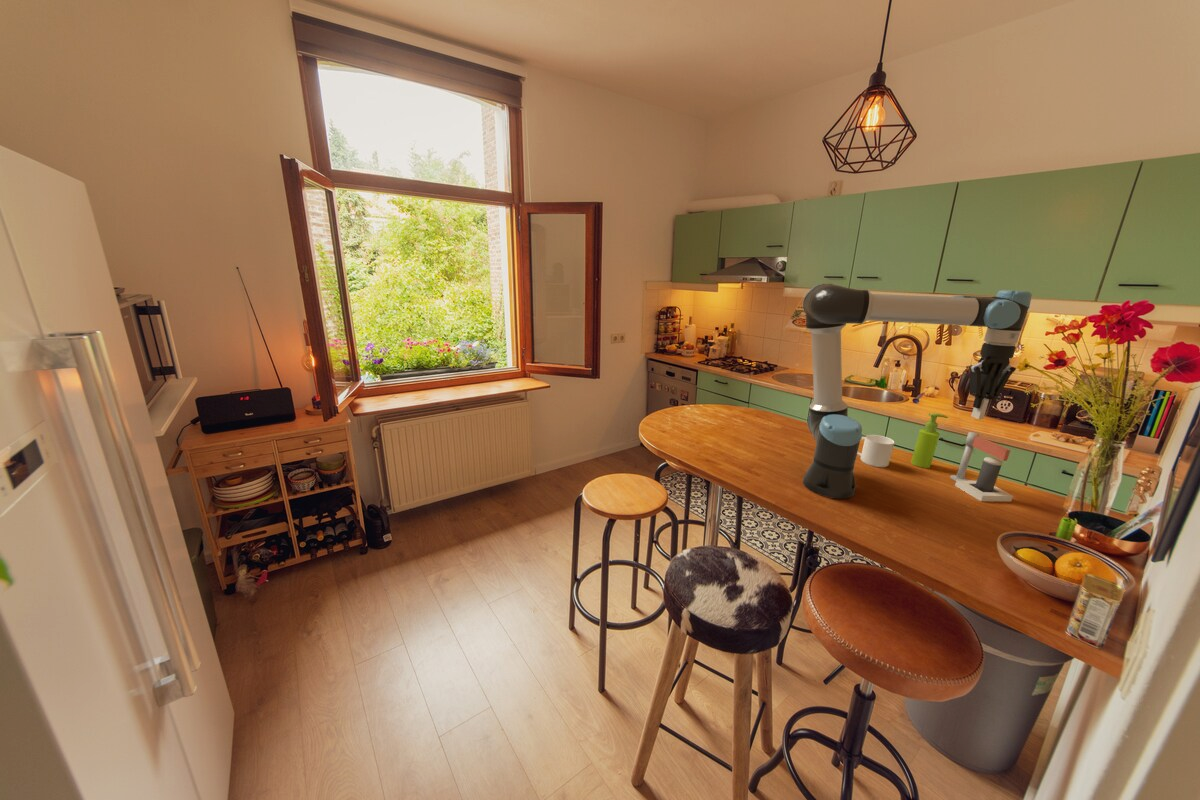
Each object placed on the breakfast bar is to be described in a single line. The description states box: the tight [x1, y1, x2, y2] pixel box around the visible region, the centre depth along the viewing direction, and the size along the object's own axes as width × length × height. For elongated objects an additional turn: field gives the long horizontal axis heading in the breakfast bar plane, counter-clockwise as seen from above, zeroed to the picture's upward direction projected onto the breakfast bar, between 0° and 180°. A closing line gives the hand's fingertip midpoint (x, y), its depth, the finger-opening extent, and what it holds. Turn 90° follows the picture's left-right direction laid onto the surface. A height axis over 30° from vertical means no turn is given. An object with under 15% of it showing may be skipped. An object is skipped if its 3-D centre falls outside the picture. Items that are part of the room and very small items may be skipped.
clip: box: [964, 431, 1011, 462], centre depth 139 cm, size 3×14×4 cm, turn 2°
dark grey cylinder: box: [975, 456, 1003, 492], centre depth 138 cm, size 4×4×12 cm
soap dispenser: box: [910, 412, 949, 469], centre depth 157 cm, size 6×7×20 cm
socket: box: [950, 444, 1014, 503], centre depth 141 cm, size 10×16×13 cm, turn 2°
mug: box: [857, 434, 895, 468], centre depth 161 cm, size 12×9×9 cm
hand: (977, 417), depth 135 cm, fingers closed
